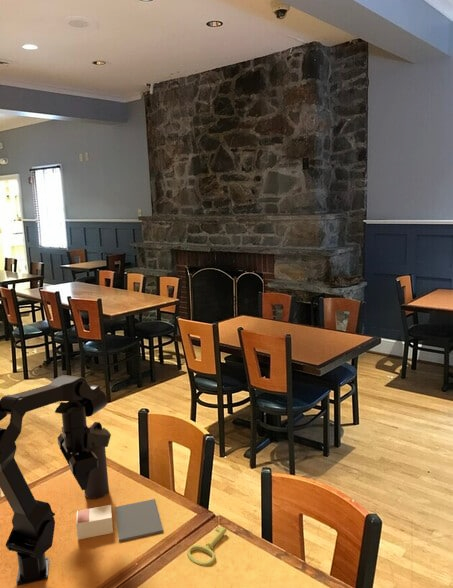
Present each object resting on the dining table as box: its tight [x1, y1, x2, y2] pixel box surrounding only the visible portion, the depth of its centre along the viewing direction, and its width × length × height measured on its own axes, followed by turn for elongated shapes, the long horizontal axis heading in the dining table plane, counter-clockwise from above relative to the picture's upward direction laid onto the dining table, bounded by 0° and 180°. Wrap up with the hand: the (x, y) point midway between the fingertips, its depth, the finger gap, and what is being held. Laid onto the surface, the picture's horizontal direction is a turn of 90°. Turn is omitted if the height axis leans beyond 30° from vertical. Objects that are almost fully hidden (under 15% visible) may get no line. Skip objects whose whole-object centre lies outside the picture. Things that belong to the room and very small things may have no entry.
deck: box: [75, 504, 114, 540], centre depth 125 cm, size 6×9×5 cm, turn 105°
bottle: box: [83, 424, 110, 499], centre depth 140 cm, size 7×7×20 cm
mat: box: [114, 498, 164, 543], centre depth 128 cm, size 14×11×1 cm
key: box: [186, 526, 227, 567], centre depth 117 cm, size 7×12×2 cm, turn 163°
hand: (79, 481), depth 125 cm, fingers open, 9 cm apart
